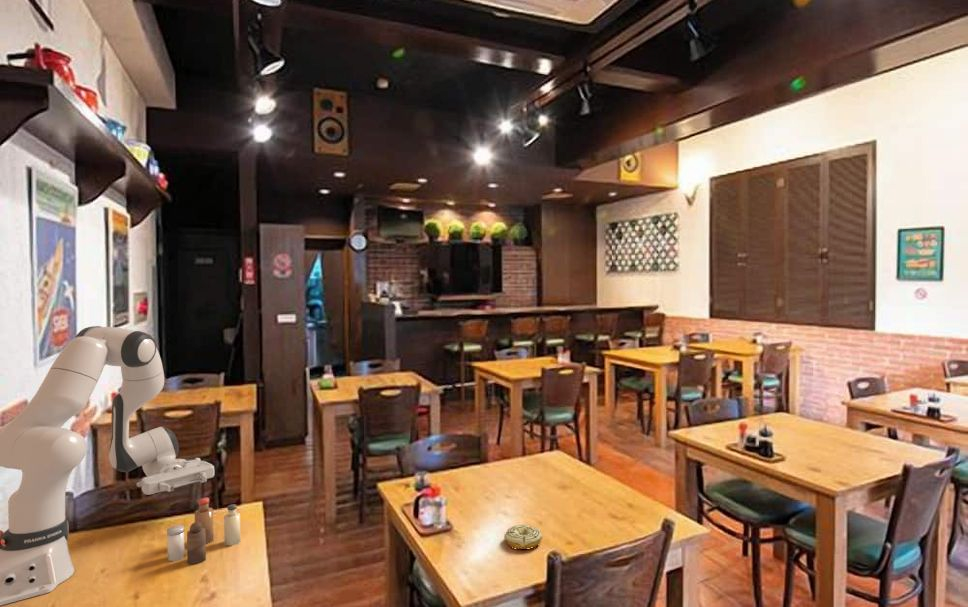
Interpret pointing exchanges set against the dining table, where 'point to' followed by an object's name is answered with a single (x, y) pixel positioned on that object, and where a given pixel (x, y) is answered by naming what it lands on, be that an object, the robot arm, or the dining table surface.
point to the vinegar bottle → (232, 526)
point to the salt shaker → (175, 542)
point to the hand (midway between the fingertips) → (188, 484)
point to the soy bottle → (205, 518)
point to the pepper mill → (196, 544)
